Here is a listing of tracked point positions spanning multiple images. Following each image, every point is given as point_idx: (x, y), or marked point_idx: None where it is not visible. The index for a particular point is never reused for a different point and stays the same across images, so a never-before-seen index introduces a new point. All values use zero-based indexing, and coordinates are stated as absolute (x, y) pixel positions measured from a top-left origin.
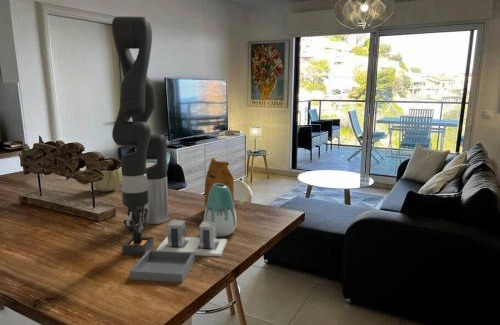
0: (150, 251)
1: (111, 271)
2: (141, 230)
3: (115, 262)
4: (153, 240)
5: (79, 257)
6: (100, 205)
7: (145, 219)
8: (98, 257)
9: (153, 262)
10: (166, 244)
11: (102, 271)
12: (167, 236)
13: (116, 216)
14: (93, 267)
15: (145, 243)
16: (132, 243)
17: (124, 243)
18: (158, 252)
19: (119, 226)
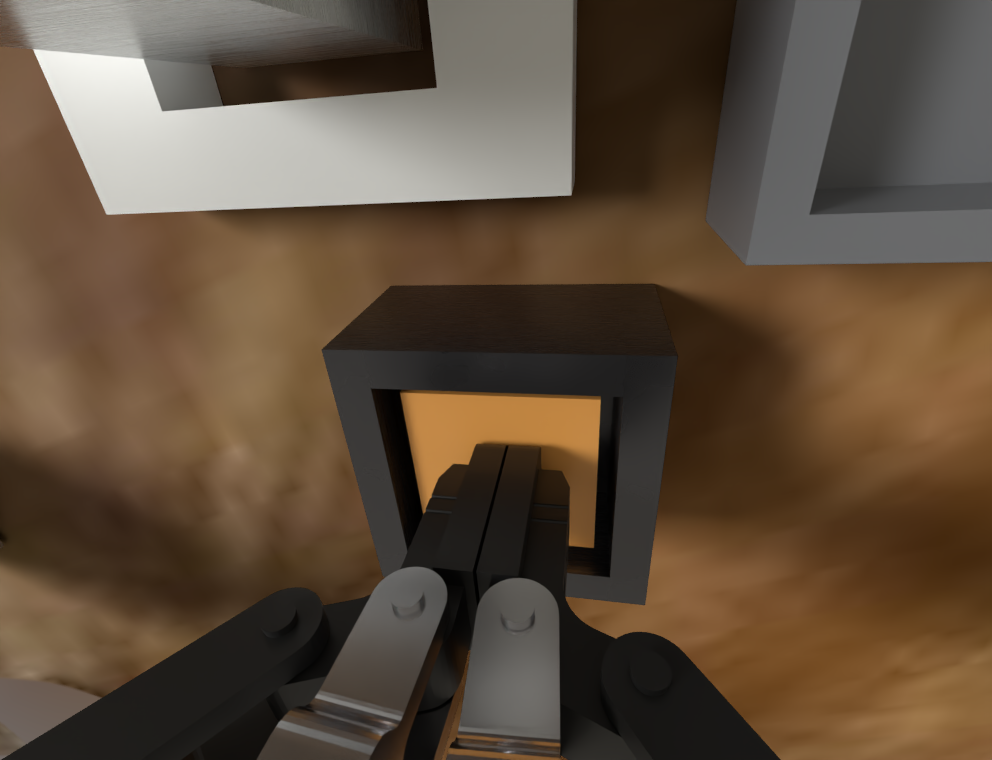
0: (808, 206)
1: (939, 500)
2: (447, 585)
3: (732, 521)
4: (345, 328)
5: None
6: (14, 744)
7: (143, 708)
8: None
9: (940, 73)
10: (338, 105)
11: (920, 561)
12: (112, 210)
13: (55, 674)
14: (820, 627)
15: (559, 383)
16: None
17: (590, 597)
18: (845, 23)
19: (151, 636)
